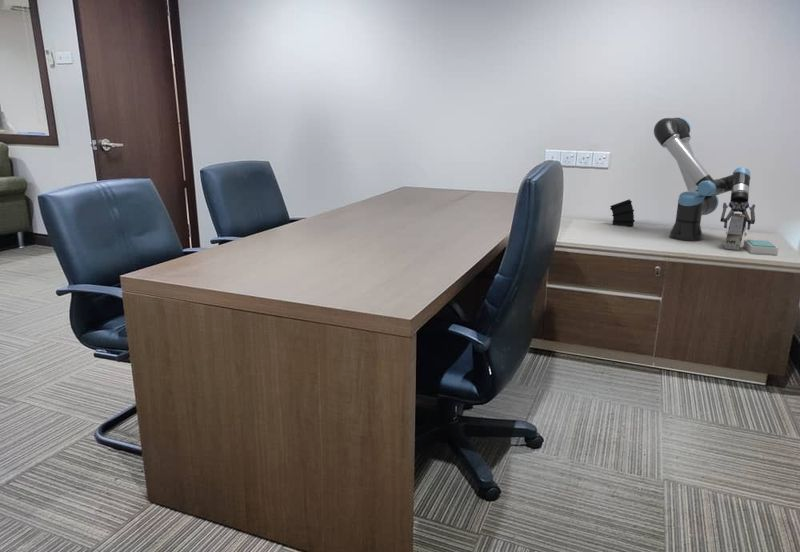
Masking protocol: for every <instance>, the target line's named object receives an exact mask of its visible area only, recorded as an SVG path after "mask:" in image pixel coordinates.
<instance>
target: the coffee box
mask: <svg viewBox="0 0 800 552" xmlns="http://www.w3.org/2000/svg"><path fill="white" fill-rule="evenodd" d="M746 221H747V215H744V214H742V213H737V212H736V213H735V212H734V213H732V216H731V217H730V220H729V230H728V235H726V238H725V242H724V248H723V249H728V250H734V251H740V246H741V243H742V239H743V237H744V234H745V225H746Z"/></svg>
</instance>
